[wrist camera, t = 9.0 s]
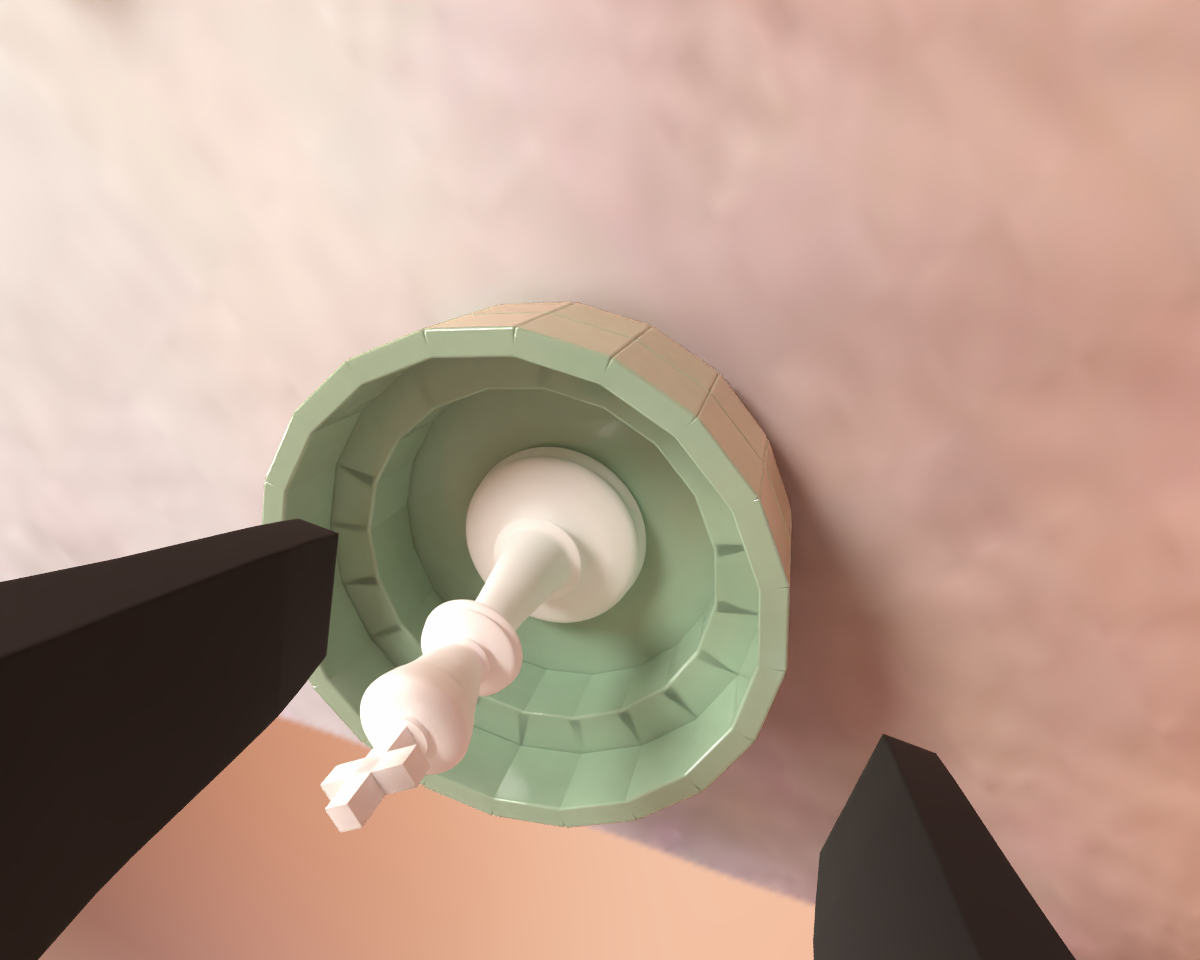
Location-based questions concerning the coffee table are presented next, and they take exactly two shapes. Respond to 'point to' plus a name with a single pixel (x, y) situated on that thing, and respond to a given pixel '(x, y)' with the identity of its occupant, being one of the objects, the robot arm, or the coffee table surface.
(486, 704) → the bowl
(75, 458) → the coffee table surface
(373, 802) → the chess piece
